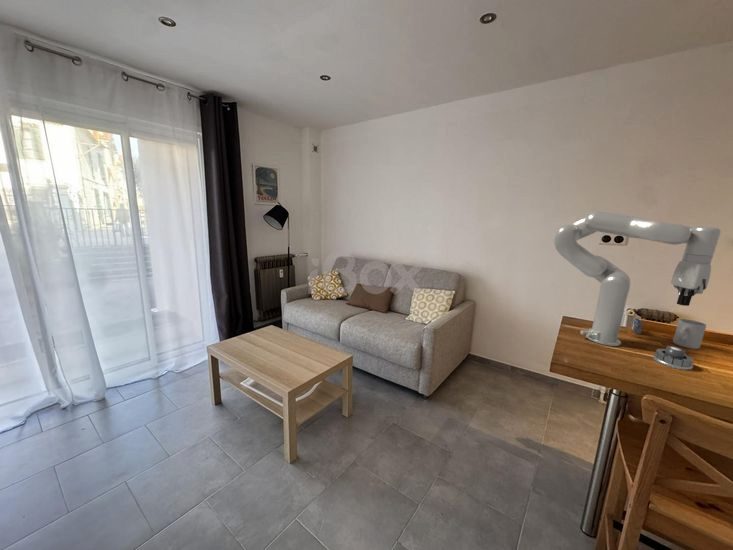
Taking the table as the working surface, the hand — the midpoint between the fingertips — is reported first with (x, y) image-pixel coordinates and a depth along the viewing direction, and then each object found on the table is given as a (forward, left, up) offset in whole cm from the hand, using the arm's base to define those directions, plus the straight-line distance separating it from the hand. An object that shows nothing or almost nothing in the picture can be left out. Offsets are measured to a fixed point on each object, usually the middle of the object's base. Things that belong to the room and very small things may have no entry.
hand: (682, 304), depth 117 cm
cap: (-3, -5, -22) cm, 22 cm away
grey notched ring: (-4, -5, -23) cm, 23 cm away
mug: (+19, +14, -23) cm, 33 cm away
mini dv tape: (+9, +28, -23) cm, 37 cm away
